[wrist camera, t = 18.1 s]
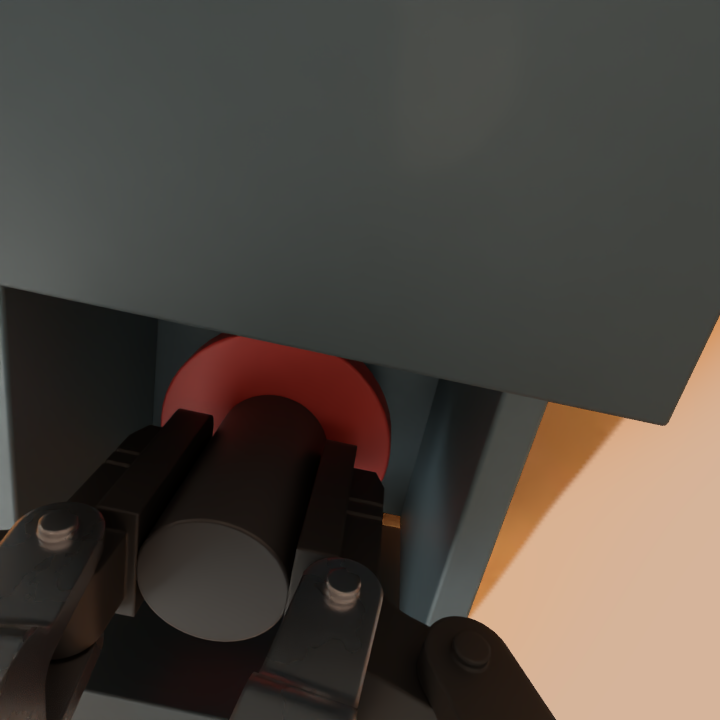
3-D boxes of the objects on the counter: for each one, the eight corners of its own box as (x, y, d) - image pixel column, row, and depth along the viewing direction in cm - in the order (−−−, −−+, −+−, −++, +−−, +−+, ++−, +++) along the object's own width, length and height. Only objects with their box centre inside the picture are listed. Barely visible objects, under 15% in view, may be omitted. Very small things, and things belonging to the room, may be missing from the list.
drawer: (393, 659, 22) (388, 912, 15) (117, 601, 22) (-22, 828, 15) (582, 59, 14) (781, -29, 6) (136, -36, 14) (-167, -234, 6)
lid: (166, 493, 15) (49, 667, 10) (179, 299, 13) (37, 398, 8) (367, 535, 15) (348, 730, 10) (413, 348, 13) (419, 479, 8)
